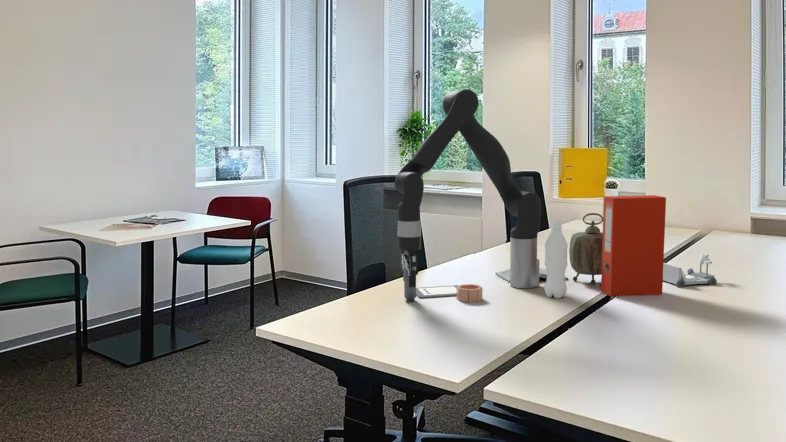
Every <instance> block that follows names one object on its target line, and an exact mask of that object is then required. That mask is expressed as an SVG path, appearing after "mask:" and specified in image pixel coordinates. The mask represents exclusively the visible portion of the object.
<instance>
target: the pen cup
mask: <svg viewBox="0 0 786 442" xmlns="http://www.w3.org/2000/svg"><path fill="white" fill-rule="evenodd" d="M456 300H458V301H459V302H464V303H477V302H480V301H482V300H483V287H482V286H481V285H480V284H471V283H467V284H458V286H457V296H456Z"/></svg>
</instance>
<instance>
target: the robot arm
mask: <svg viewBox="0 0 786 442" xmlns="http://www.w3.org/2000/svg"><path fill="white" fill-rule="evenodd" d="M479 103H480V101H479V97H478V95H477V94H476V92H475V91H473V90H471V89H468V88H467V89H465V88H464V89H463V88H462V89H457V90H454V91H449V92H448V93H446V94H445V96H444V97H443V99H442V108H443V111H444V113H445V115H446V116H445V118H444V119H443V120H442V122H441V123H440V124H439V125H438V126H436V128H435V129H434V130H433V131H432V132H431V133H430V134H429V135H428V136H427V137H426V138H425V139H424V140H423V142H422V143H421V144H420V146H419V147H418V149H417V150H416V152H415V154H414V155H413V157H412V158H411V159H410V160H409V161H408V162H407V163H406V164H405V165H404V166H403V167H402V168H401V169H400V170H399V172H398V173H397V174H396V177H395V179H394V188H395V190H396V191H397V192H399V193H400V194H403V196H402V202H400V203H399V204H398V208H397V211H398V212H397V220H398V221H397V234H396V235H397V249H398V250H400V252H401V255H400V256H401V257H400V267H401V269H402V275H403V276H402V280H403V282H404V262H405V264H406V269H407V270H408V275H409V287H416V288H417V275H419V256H418V255H416V252H415V251H420V250H421V248H422V227H421V226H422V225H421V209H420V208H421V204H422V201H423V195H424V189H425V184H424V179H423V177H422V176H423V175H425V173H427V172H430V171H431V170H432V169H433V167H434V166H435V164H436V163H437V161H438V160H439V159H440V156H442V154H443V152H444V151H445V150H446V148H447V146H448V145H449V144H450V143H451V141H452V140H453V139H454V137H455V136H456V135H457V134H458V133H460V134H461V136H462V137H463V139H464V140H465V142H466V143H467V145H468V147H469V148H470V149H471V151H472V152H473V154H474V156H475V158H476V159H477V161H478V163H479V164H480V166H481V168H482V169H483V171H485V173H486V175H487V176H488V178H489V179H490V181H491V183H492V184H493V186H494V187H495V189H496V190H497V192H498V194H499V196H500V198H501V200H502V202H503V204H504V206H505V208H506V210H507V211H508V213H509V214H510V215H511V216H513V217H516V218H517V220H516V225H515V227H513V228H511V230H510V238H509V239H510V249H509V250H510V252H509V253H510V255H509V257H510V258H509V259H510V260H509V261H510V264H509V265H510V266H509V269H510V284H509V285H510V286H511V287H513V288H515V289H517V288H518V289H533V288H537V287H538V288H539V287H540V277H539V268H540V259H539V258H538V234H539V232H540V231H539V230H540V228H541V215H542V205H541V204H542V203H541V199H540V197H539V196H538V194H536V193H535V192H531V191H526V190H525V191H523V190H522V189H521V188H520V186H519V185H518V183H517V182H516V180H515V179H514V177H513V174H512V169H511V161H510V158H509V156H508V154H507V152H506V151H505V149H504V147H503V145H502V144H501V142H500V141H499V140H498V139H497V138H496V137H495V135H493V134H492V133H491V132H489V131H488V129H486V128H485V127H484V126H483V125H481V123H480V122H479V121H478V119H477V118H476V117H475V116H474V114H475V113H477V110H478V107H479V105H480V104H479ZM412 269H413V270H414V271H412Z"/></svg>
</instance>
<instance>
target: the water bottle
mask: <svg viewBox="0 0 786 442" xmlns="http://www.w3.org/2000/svg"><path fill="white" fill-rule="evenodd" d="M562 226H563V225H562V220H561V219H552V220H551V226H550V228H551V230H550V233H549V235H548V237H547V239H546V241H545V244H544V249H545V250H544V266H545V269H546V270H547V278H546V280H545V284H544V285H543V287H544V293H545V295H546V297H548V298H552V297H554V298H555V299H560V298H565V296H566V294H567V292H568V291H567V290H568V287H567V284H566V280H565V277H566V269H567V268H568V247H569V246H568V241H567V240H566V238H565V235H564V234H563V230H562V229H563V227H562Z"/></svg>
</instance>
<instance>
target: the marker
mask: <svg viewBox="0 0 786 442" xmlns="http://www.w3.org/2000/svg"><path fill="white" fill-rule="evenodd" d="M412 271H414V270H413V269H412ZM403 283H404V284H403V286H404V287H403V288H404V289H403V290H404V293H403V294H404V298H405V302H408V303H412V302H416V301H415V299H416V298H417V295H416V288H417V286H416V287H409V275H408V270H407V269H406V264H405V261H404V281H403Z"/></svg>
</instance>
